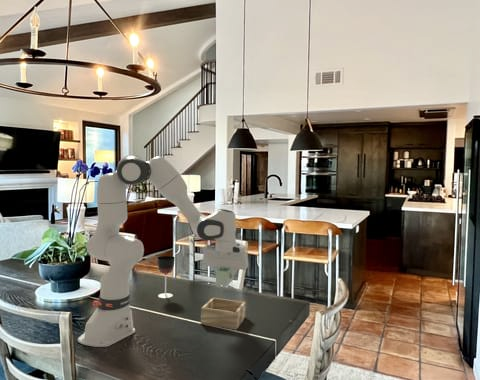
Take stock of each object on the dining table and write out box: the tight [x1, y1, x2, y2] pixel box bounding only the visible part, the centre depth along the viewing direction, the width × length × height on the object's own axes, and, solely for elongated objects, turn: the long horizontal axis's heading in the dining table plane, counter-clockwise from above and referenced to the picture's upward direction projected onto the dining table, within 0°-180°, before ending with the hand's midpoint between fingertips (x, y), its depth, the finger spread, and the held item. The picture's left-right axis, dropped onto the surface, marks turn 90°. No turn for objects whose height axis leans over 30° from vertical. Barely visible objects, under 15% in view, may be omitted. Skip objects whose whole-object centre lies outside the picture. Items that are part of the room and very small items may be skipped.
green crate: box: [215, 267, 234, 287], centre depth 164 cm, size 9×5×6 cm, turn 164°
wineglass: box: [157, 255, 175, 299], centre depth 194 cm, size 8×9×20 cm
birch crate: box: [200, 297, 247, 330], centre depth 164 cm, size 14×16×7 cm
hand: (224, 277), depth 164 cm, fingers closed on green crate, 5 cm apart
